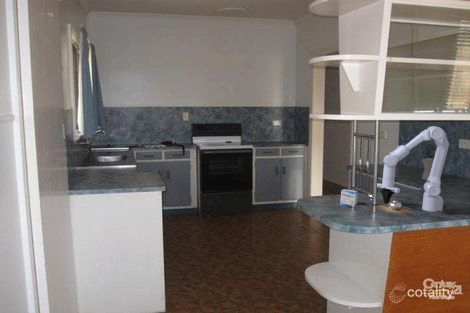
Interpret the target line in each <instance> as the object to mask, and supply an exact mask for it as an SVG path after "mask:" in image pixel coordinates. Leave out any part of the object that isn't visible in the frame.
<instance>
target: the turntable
mask: <svg viewBox="0 0 470 313" xmlns="http://www.w3.org/2000/svg"><path fill="white" fill-rule="evenodd" d="M388 205H389V204H385V203H380V204H377V205H375V208H376V209H379V210H380V211H384V212H387V213H394V214H411V213H414V210H413V208H410V207H407V206H405V205H401V210H392V209H389V208H388Z"/></svg>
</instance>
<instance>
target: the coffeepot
mask: <svg viewBox="0 0 470 313" xmlns="http://www.w3.org/2000/svg"><path fill="white" fill-rule="evenodd" d="M433 160H434V158H433V156H432V155H429V158H421V159H420V161H421V162H422V164H423V168H424V170H423V173H422V175H421V180H424V181H427V179H428V177H429V176H430V172H431V168H432V164H433Z"/></svg>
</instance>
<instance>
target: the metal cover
mask: <svg viewBox="0 0 470 313" xmlns="http://www.w3.org/2000/svg"><path fill="white" fill-rule="evenodd" d="M401 206H402V202H399V201H398V200H394V199H393V200H392V201H391V200H390V201H389V205H388V208H389V209H392V210H401Z"/></svg>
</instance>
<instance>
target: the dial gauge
mask: <svg viewBox="0 0 470 313" xmlns="http://www.w3.org/2000/svg"><path fill="white" fill-rule="evenodd" d="M370 194H371V193H369V194H367V195H368V196H367V197H368V198H369V206H371V207H372V205H373V206H374V204H373V196H372V195H370Z"/></svg>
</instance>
